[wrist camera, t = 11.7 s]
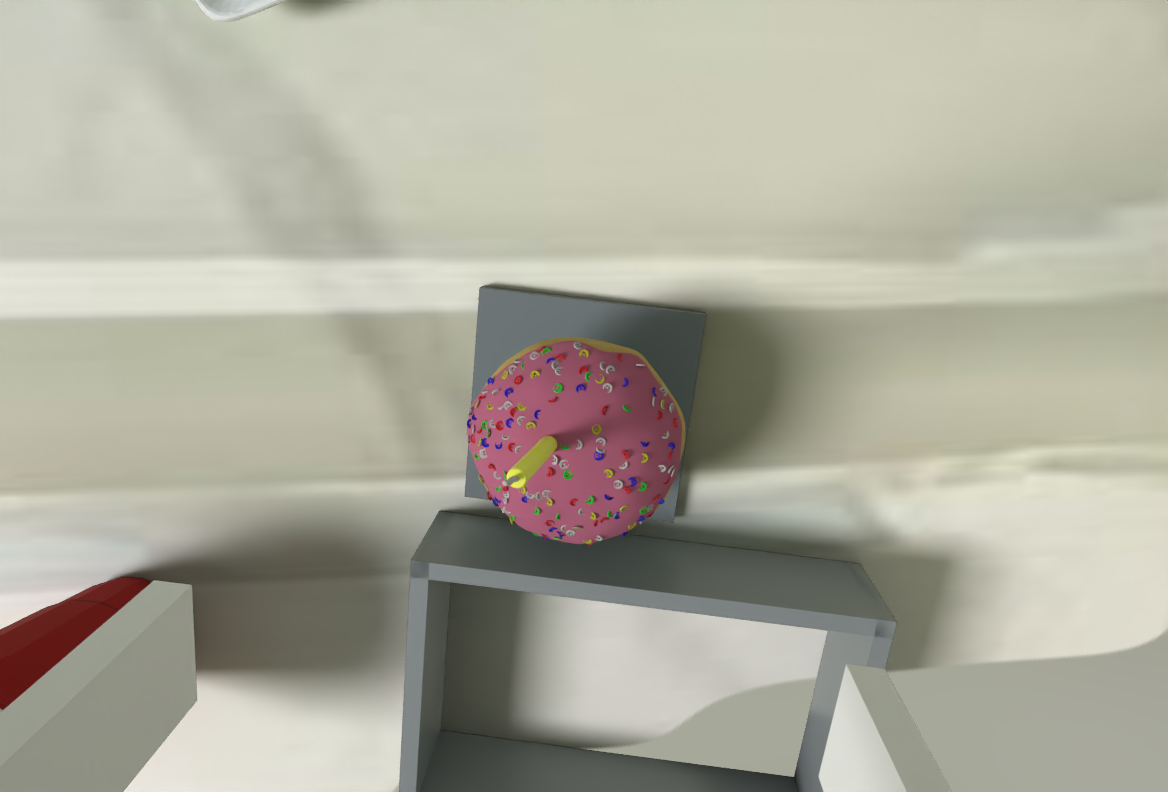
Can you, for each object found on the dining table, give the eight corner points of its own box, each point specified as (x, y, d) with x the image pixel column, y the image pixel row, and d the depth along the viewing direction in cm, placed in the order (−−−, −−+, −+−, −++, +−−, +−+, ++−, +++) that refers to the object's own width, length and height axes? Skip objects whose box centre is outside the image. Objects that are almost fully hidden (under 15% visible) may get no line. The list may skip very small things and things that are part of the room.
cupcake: (454, 427, 34) (368, 547, 23) (559, 277, 32) (523, 326, 21) (604, 529, 35) (595, 694, 24) (716, 390, 33) (764, 497, 22)
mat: (482, 286, 33) (479, 288, 32) (704, 312, 33) (706, 314, 32) (467, 491, 36) (464, 496, 35) (672, 517, 36) (673, 522, 35)
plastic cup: (-7, 589, 39) (-275, 759, 27) (148, 496, 37) (-70, 637, 25) (124, 742, 41) (-73, 959, 29) (277, 662, 39) (131, 861, 27)
